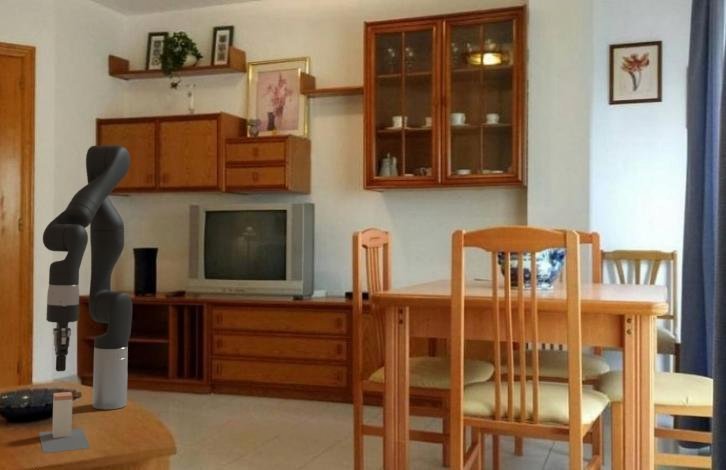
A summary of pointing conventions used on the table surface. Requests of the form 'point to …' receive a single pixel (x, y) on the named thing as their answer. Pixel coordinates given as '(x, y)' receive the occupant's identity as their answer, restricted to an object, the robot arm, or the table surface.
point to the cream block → (62, 414)
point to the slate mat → (63, 441)
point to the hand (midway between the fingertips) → (60, 370)
